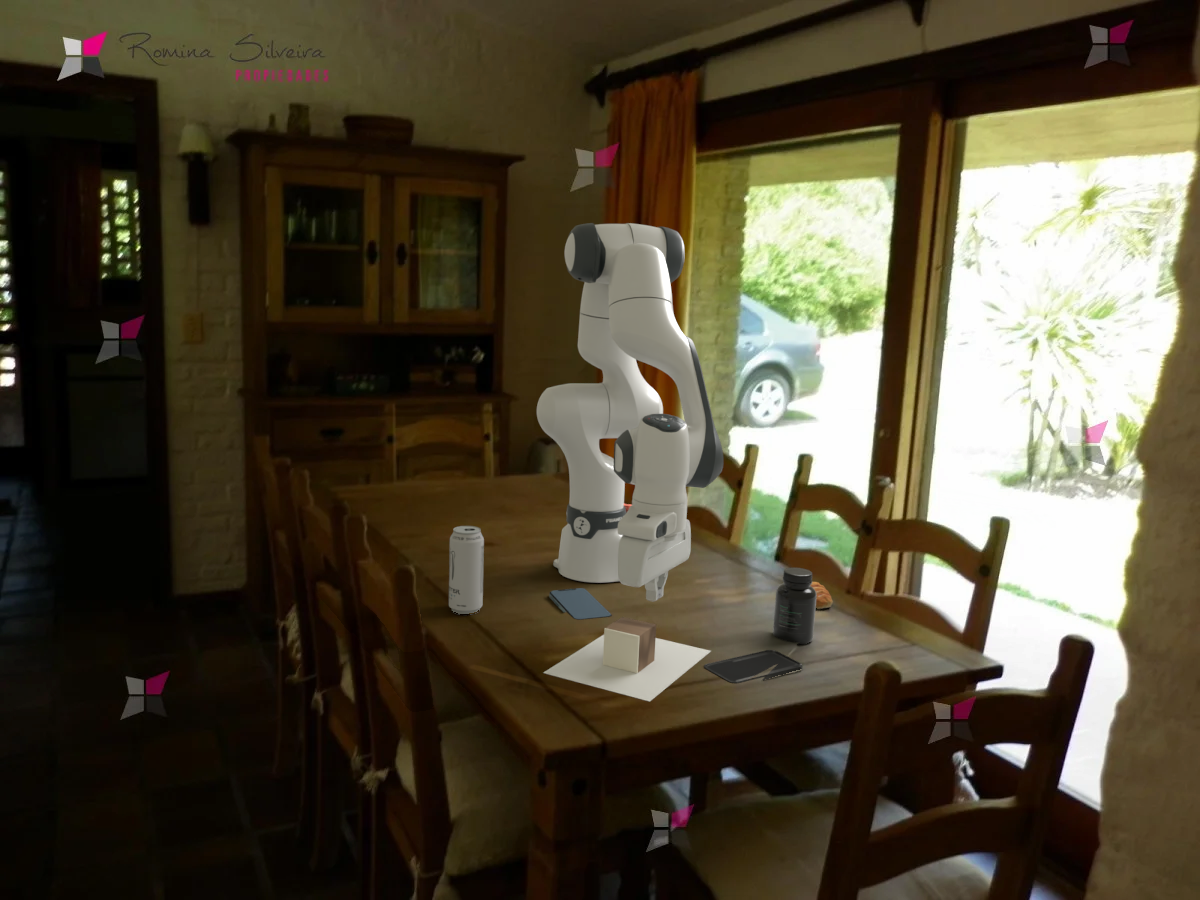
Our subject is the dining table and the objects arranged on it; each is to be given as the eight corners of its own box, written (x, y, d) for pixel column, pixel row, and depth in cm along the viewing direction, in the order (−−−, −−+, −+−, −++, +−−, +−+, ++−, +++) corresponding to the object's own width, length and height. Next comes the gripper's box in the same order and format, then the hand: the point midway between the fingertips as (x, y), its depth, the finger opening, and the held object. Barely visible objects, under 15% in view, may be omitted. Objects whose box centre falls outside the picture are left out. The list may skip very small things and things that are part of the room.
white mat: (613, 631, 169) (614, 628, 169) (710, 654, 161) (711, 650, 161) (542, 676, 149) (543, 672, 149) (649, 705, 141) (649, 701, 141)
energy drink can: (445, 606, 178) (446, 525, 176) (477, 603, 181) (479, 524, 178) (452, 617, 173) (454, 534, 170) (486, 614, 175) (487, 532, 172)
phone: (805, 665, 156) (733, 683, 148) (805, 672, 156) (732, 690, 148) (771, 648, 163) (700, 664, 155) (771, 655, 163) (700, 671, 155)
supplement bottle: (784, 628, 174) (789, 563, 172) (819, 638, 170) (825, 571, 168) (765, 638, 169) (770, 571, 167) (800, 649, 165) (806, 580, 163)
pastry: (841, 609, 186) (842, 590, 186) (810, 613, 184) (812, 593, 183) (813, 594, 195) (815, 575, 194) (784, 597, 192) (785, 578, 192)
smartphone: (574, 619, 172) (547, 590, 186) (574, 628, 172) (547, 598, 186) (614, 615, 175) (585, 586, 188) (614, 624, 175) (584, 595, 189)
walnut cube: (622, 616, 158) (604, 628, 152) (656, 624, 155) (638, 636, 149) (620, 652, 159) (602, 664, 153) (654, 660, 156) (637, 673, 150)
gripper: (668, 501, 168) (664, 579, 171) (612, 526, 151) (608, 612, 153) (702, 507, 166) (697, 586, 168) (649, 532, 148) (644, 620, 150)
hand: (654, 598), depth 160 cm, fingers closed
